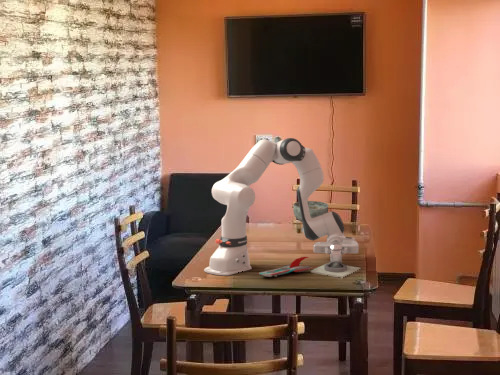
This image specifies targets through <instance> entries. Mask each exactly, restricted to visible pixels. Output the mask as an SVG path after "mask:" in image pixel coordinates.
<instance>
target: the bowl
mask: <svg viewBox="0 0 500 375" xmlns="http://www.w3.org/2000/svg"><path fill="white" fill-rule="evenodd" d="M307 202H308V208H309V213H310V217H311V218H315V217H318V216H321V215H323V214H326V213H328V212H329V204H328V203H326V202H325V201H324V202H323V201H313V200H308V201H307ZM292 208H293V209H292V210H293V214H294V218H296V219H297V220H298V221H299V222H302V217H301V212H300V207H299V201H296V202H294V203H293V207H292ZM300 230H301V232H303V226H302V227H301V229H300Z"/></svg>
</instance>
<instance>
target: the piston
mask: <svg viewBox="0 0 500 375" xmlns="http://www.w3.org/2000/svg"><path fill="white" fill-rule="evenodd" d="M342 255H343V254H342V244H339V243H333V244H330V254H329V258H330V259H329V262H330V267H331V268H341V267H342V264H343V263H342V262H343V261H342V260H343V256H342Z"/></svg>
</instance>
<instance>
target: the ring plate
mask: <svg viewBox="0 0 500 375" xmlns="http://www.w3.org/2000/svg"><path fill="white" fill-rule="evenodd" d="M358 269H360V270H361V267H360V266H359V267H358V266H353V265H347V264H346V263H342V267H341V268H331V267H330V261H329V262H328V263H327V262H326V263H325V264H323V265H321V266H317V267H315V268H312V269H310V273H311V274H318V275H322V276H327V275H328V276H329V277H333V278H338V277H341V278H340V279H343V277H344V278H345V276H346V277H348V276H349V274H350V275H352V274H354V273H356V272H358V271H359V270H358ZM357 270H358V271H357ZM355 271H356V272H355ZM353 272H354V273H353ZM351 273H352V274H351ZM347 275H348V276H347Z"/></svg>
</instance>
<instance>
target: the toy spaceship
mask: <svg viewBox="0 0 500 375" xmlns="http://www.w3.org/2000/svg"><path fill="white" fill-rule="evenodd" d="M308 258H310V257H309V256H301V257H298V258H296V259H294V260H293V261H292V262H291V263H290V264H287V265H285V266H283V267H279V268H274V269H271V270H265V271H260V272H257V274H258V275H260V276H264V277H266V278H267V277H269V278H271V277H274V278H277V277H278V276H281V275H282V276H283V275H285V274H289V273H291V272H295V273H301V272H307V271H311V270H312V269H315V268H318V266H312V267H311V266H310V265H305V266H301V264H303V262H302V261H304V260H305V259H308ZM301 262H302V263H301Z"/></svg>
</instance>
